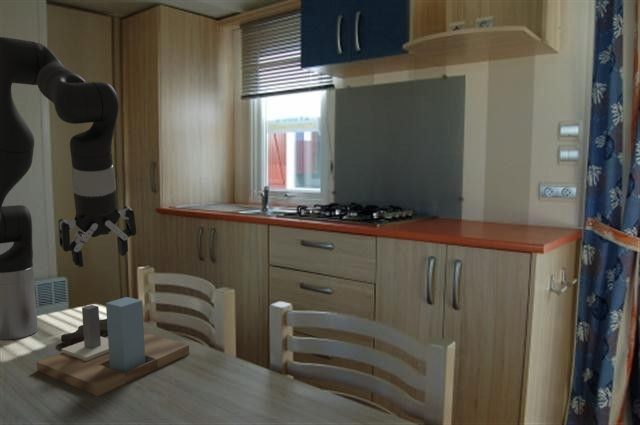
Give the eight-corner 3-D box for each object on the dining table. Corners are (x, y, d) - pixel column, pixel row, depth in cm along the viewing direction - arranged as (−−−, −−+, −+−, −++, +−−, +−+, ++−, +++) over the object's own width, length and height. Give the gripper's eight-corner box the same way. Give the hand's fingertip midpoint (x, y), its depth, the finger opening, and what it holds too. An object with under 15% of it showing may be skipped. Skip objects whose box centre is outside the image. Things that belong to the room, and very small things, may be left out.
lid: (61, 352, 107) (58, 309, 106) (98, 339, 115) (96, 298, 113) (86, 361, 102) (83, 316, 101) (123, 346, 110) (120, 304, 109)
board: (37, 373, 103) (36, 361, 102) (130, 338, 122) (129, 328, 122) (98, 398, 92) (97, 385, 91) (189, 355, 111) (188, 345, 111)
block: (110, 372, 102) (105, 303, 100) (130, 363, 106) (126, 296, 104) (125, 377, 99) (121, 306, 97) (145, 368, 103) (142, 300, 101)
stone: (67, 350, 115) (66, 338, 114) (50, 338, 123) (50, 327, 122) (139, 332, 128) (138, 321, 127) (120, 322, 135) (119, 311, 135)
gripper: (123, 175, 101) (128, 243, 107) (48, 187, 92) (58, 261, 98) (138, 187, 96) (142, 258, 103) (61, 201, 87) (70, 278, 93)
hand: (101, 259), depth 100 cm, fingers open, 8 cm apart
